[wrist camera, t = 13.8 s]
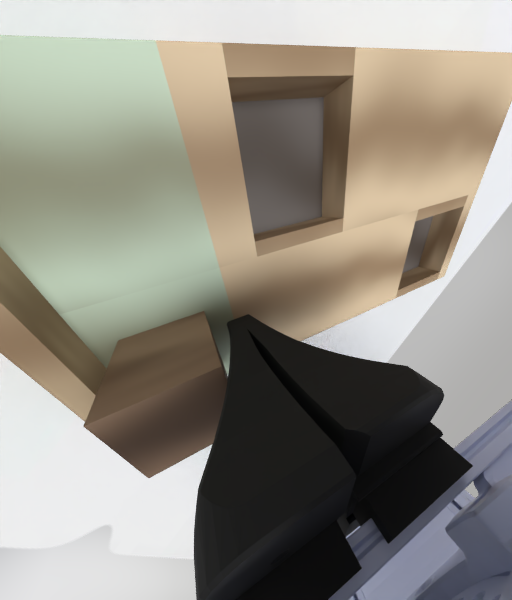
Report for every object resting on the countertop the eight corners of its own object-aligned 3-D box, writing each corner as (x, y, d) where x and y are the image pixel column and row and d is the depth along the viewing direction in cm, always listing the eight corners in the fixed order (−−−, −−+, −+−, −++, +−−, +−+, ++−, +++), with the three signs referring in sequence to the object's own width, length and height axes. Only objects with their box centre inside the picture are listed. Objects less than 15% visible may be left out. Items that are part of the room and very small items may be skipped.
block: (223, 363, 11) (244, 426, 8) (155, 392, 10) (148, 478, 7) (203, 311, 9) (221, 366, 6) (118, 340, 8) (83, 426, 5)
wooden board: (420, 270, 19) (464, 281, 16) (131, 391, 12) (118, 449, 9) (481, 74, 12) (577, 32, 9) (-126, 86, 5) (-530, -80, 2)
